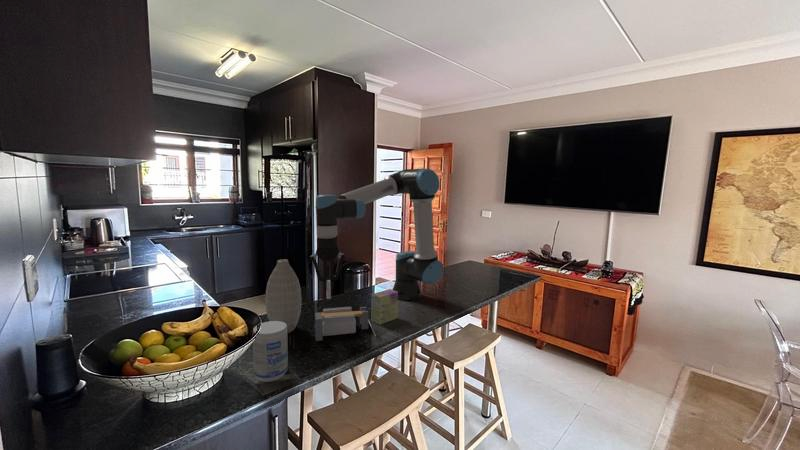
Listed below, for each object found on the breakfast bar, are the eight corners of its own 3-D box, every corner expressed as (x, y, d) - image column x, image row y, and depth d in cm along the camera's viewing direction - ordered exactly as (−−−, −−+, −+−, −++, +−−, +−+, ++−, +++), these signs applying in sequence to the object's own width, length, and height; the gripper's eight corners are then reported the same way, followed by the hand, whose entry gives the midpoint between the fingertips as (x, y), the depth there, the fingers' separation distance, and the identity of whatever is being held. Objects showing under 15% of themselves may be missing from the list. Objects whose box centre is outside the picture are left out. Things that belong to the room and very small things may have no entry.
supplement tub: (271, 387, 91) (270, 336, 89) (246, 379, 95) (244, 330, 93) (294, 369, 100) (294, 323, 98) (270, 362, 103) (269, 318, 102)
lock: (321, 333, 122) (321, 312, 121) (322, 340, 116) (322, 318, 115) (315, 333, 121) (315, 313, 120) (315, 341, 116) (315, 319, 115)
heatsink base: (367, 319, 138) (367, 301, 137) (376, 338, 121) (376, 317, 120) (308, 324, 132) (308, 305, 131) (309, 345, 115) (308, 324, 114)
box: (389, 314, 144) (389, 288, 143) (398, 318, 140) (398, 291, 139) (370, 320, 137) (371, 293, 135) (379, 325, 133) (380, 297, 131)
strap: (365, 313, 130) (365, 309, 130) (367, 316, 127) (367, 312, 126) (315, 316, 125) (315, 312, 125) (315, 321, 121) (315, 316, 121)
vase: (291, 341, 117) (289, 265, 114) (259, 338, 119) (256, 263, 116) (307, 327, 130) (306, 257, 126) (278, 323, 132) (276, 255, 128)
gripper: (343, 234, 126) (344, 293, 129) (308, 235, 122) (310, 296, 126) (346, 237, 119) (347, 299, 122) (309, 239, 115) (311, 302, 118)
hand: (328, 297), depth 124 cm, fingers closed
